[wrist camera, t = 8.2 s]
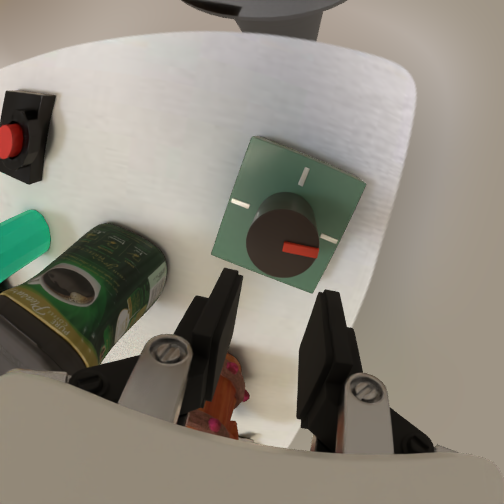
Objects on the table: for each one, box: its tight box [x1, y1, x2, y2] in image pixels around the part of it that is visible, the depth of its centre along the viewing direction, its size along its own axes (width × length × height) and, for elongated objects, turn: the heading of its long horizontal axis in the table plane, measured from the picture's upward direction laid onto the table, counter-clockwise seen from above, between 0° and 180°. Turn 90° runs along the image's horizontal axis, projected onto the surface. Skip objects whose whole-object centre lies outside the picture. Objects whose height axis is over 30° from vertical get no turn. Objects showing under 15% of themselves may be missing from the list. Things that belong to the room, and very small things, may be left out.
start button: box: [0, 123, 23, 159], centre depth 21 cm, size 4×4×2 cm
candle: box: [0, 210, 51, 283], centre depth 25 cm, size 6×6×12 cm
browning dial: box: [246, 192, 320, 278], centre depth 20 cm, size 4×4×5 cm
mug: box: [187, 353, 250, 440], centre depth 27 cm, size 15×8×15 cm, turn 16°
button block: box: [0, 90, 56, 184], centre depth 23 cm, size 10×9×4 cm
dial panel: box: [211, 136, 366, 293], centre depth 24 cm, size 10×9×3 cm
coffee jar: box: [0, 223, 167, 376], centre depth 21 cm, size 10×8×19 cm
